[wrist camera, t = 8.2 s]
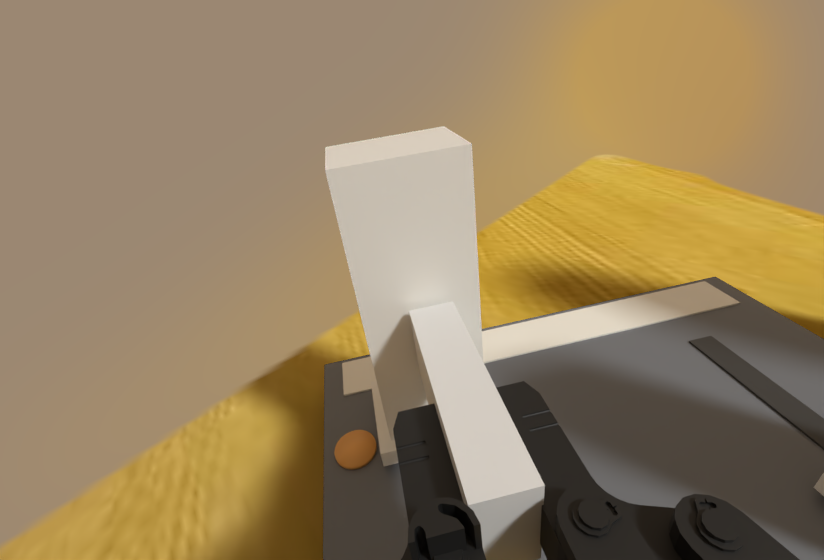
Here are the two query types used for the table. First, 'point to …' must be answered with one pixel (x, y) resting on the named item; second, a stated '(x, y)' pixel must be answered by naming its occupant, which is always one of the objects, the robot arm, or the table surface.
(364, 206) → the tall white rectangular block
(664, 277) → the table surface
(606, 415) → the switch panel
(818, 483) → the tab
